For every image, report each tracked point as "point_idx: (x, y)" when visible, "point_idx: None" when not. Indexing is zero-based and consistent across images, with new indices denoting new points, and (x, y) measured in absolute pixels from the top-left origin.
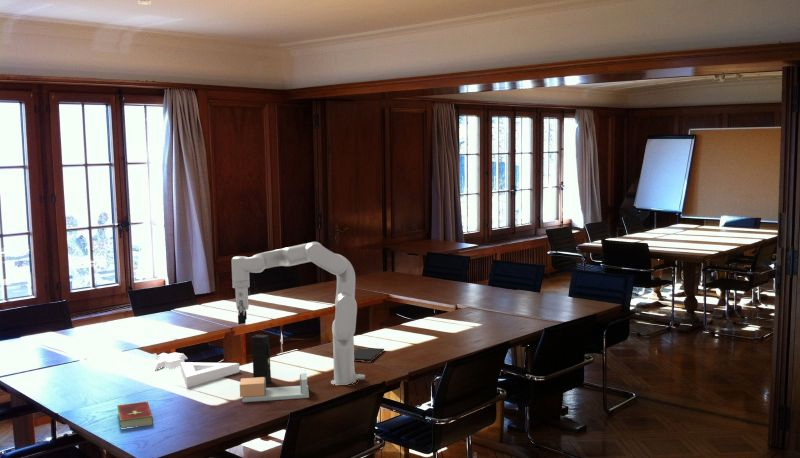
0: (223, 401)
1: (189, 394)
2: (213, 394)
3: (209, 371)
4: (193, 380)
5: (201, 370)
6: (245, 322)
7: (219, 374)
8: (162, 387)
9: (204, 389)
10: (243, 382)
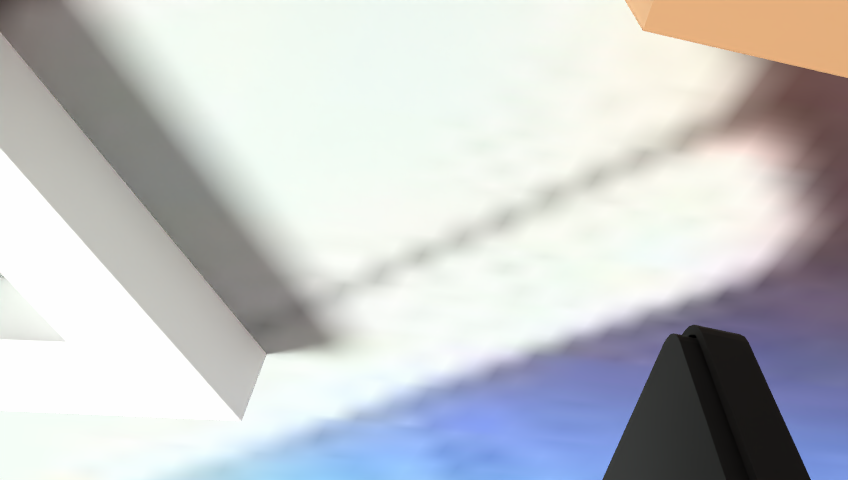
0: (743, 168)
1: (405, 354)
2: (491, 209)
3: (83, 238)
4: (211, 344)
5: (43, 297)
6: (753, 358)
7: (28, 121)
8: (153, 469)
9: (310, 249)
10: (830, 33)
